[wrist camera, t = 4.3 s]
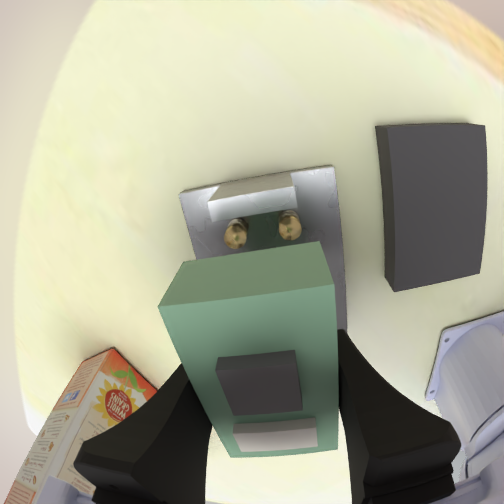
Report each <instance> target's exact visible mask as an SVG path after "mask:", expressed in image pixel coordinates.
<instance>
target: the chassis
mask: <svg viewBox="0 0 504 504" xmlns="http://www.w3.org/2000/svg"><path fill="white" fill-rule="evenodd" d="M179 197H180V201H181V205H182V209H183V213H184V216H185V220H186V224H187V227H188V231H189V234H190V238H191V241H192V245H193V248H194V252H195V255H196V259H197V260H199V259H205V258H212V257H219V256H225V255H232V254H238V253H245V252H251V251H258V250H264V249H271V248H277V247H284V246H290V245H297V244H303V243H310V242H317V241H320V244H321V247H322V250H323V253H324V255H325V258H326V261H327V264H328V267H329V270H330V273H331V276H332V279H333V282H334V288H335V303H336V320H337V330H338V329H344V330H345V331H346V333H347V310H346V287H345V270H344V256H343V243H342V232H341V221H340V212H339V202H338V194H337V186H336V178H335V170H334V167H333V166H332V165H327V166H320V167H313V168H306V169H299V170H293V171H286V172H280V173H274V174H268V175H262V176H257V177H251V178H246V179H240V180H235V181H230V182H225V183H219V184H214V185H210V186H205V187H200V188H195V189H191V190H186V191H182V192H181V193H180V194H179Z"/></svg>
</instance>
